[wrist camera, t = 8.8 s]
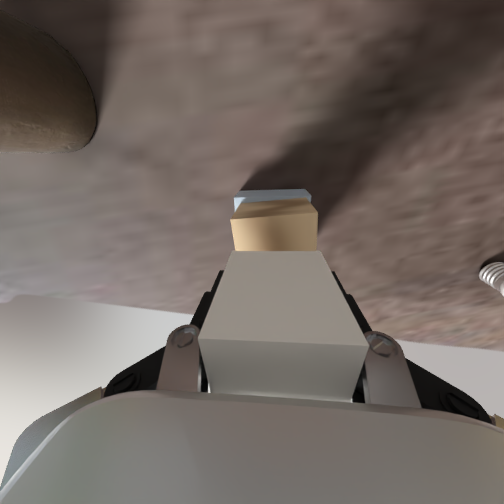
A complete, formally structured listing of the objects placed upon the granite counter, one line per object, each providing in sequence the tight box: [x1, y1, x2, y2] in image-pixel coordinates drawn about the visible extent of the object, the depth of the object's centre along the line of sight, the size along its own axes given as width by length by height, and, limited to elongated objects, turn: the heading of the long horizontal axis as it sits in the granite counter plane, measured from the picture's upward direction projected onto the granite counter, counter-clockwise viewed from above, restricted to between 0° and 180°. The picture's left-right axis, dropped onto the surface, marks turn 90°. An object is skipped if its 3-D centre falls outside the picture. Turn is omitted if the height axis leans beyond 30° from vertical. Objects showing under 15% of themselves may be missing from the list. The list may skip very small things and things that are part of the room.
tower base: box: [234, 189, 311, 211], centre depth 21 cm, size 7×7×4 cm
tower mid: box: [231, 197, 318, 251], centre depth 17 cm, size 6×6×5 cm
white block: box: [198, 251, 369, 402], centre depth 10 cm, size 5×5×6 cm
